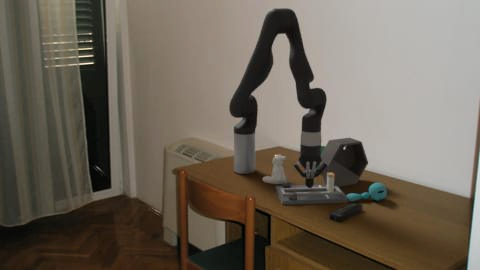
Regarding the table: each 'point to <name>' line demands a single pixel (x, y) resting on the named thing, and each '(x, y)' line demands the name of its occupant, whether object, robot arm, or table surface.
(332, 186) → the fader tab
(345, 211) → the multiport hub
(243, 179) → the table surface
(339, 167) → the planter
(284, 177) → the sitting furry creature
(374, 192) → the toy
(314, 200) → the console board
